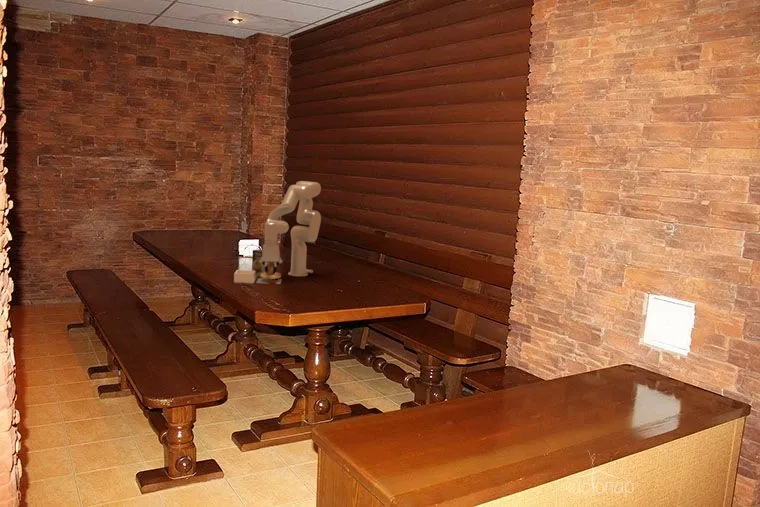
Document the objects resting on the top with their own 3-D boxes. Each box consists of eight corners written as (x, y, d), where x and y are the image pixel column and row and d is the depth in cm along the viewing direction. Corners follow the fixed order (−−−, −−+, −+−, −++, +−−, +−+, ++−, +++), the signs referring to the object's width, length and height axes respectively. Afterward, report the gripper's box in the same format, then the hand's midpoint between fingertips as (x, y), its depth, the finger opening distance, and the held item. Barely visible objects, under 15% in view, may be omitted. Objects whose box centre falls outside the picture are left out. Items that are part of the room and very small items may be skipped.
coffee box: (251, 275, 391) (252, 250, 388) (257, 274, 396) (258, 249, 394) (262, 277, 386) (263, 251, 384) (269, 276, 392) (270, 250, 390)
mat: (281, 279, 383) (281, 279, 383) (280, 284, 369) (280, 283, 369) (258, 278, 381) (258, 278, 381) (256, 283, 368) (256, 282, 368)
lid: (281, 274, 382) (281, 264, 381) (280, 279, 371) (280, 268, 369) (261, 274, 381) (261, 263, 380) (259, 278, 369) (259, 267, 368)
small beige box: (255, 280, 376) (255, 270, 375) (253, 284, 365) (253, 274, 364) (236, 279, 375) (236, 269, 374) (233, 283, 364) (234, 273, 363)
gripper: (285, 242, 377) (285, 271, 380) (257, 241, 375) (257, 271, 378) (284, 244, 369) (284, 274, 373) (256, 243, 368) (255, 273, 371)
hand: (270, 272), depth 375 cm, fingers closed on lid, 4 cm apart
